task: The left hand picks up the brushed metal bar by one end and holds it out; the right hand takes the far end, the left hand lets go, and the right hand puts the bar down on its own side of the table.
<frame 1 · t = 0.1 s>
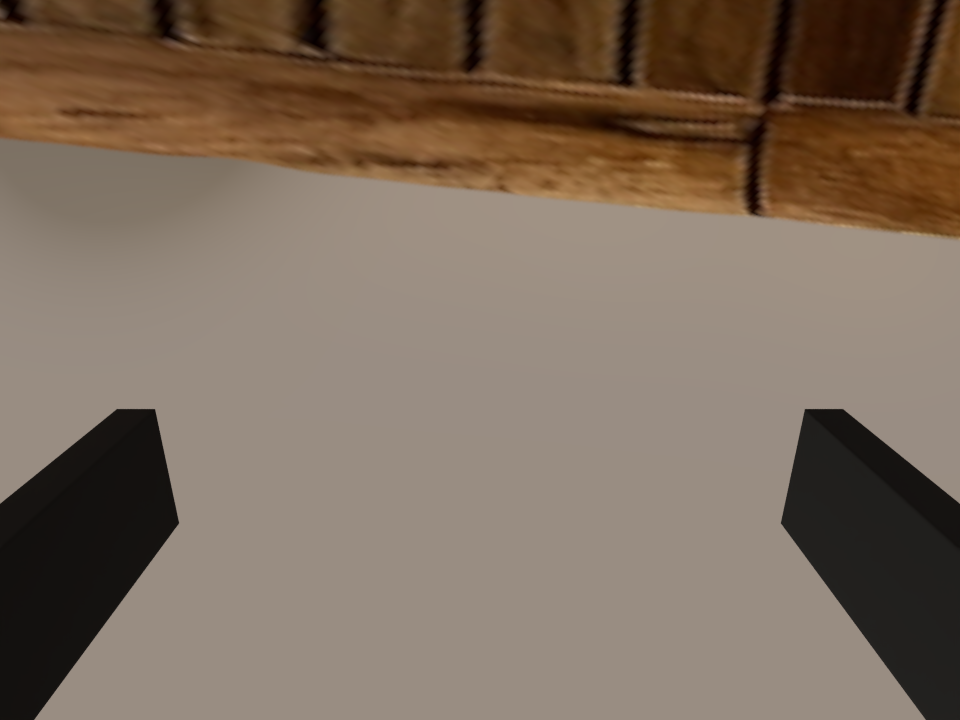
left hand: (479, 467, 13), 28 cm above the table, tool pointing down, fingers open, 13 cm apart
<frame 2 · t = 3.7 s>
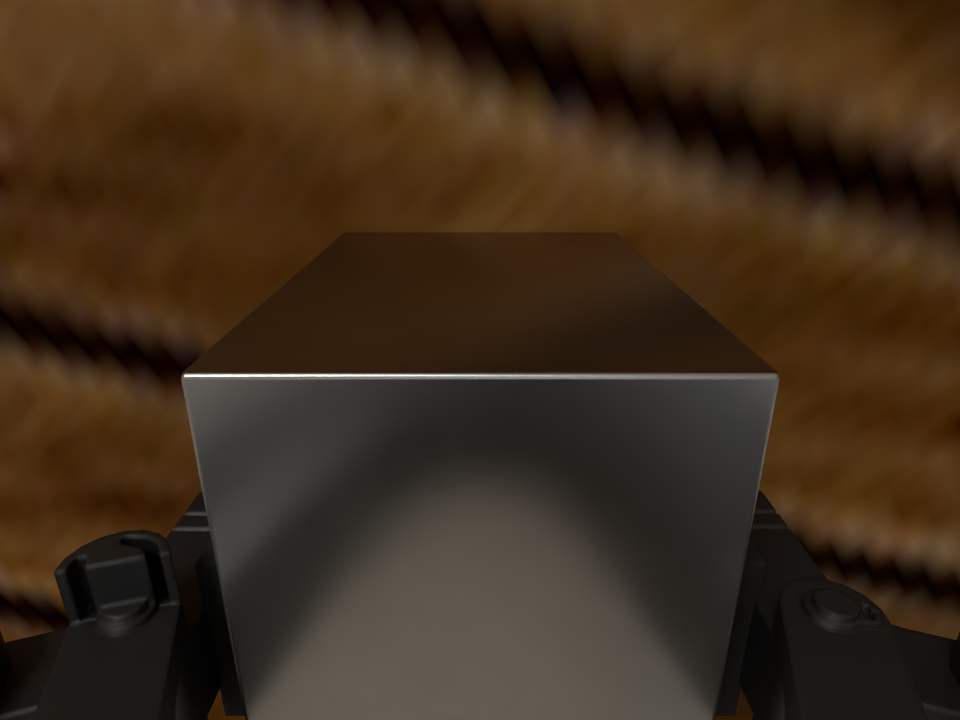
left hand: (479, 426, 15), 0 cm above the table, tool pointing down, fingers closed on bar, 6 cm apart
bar: (480, 659, 18), on the table, touching left hand
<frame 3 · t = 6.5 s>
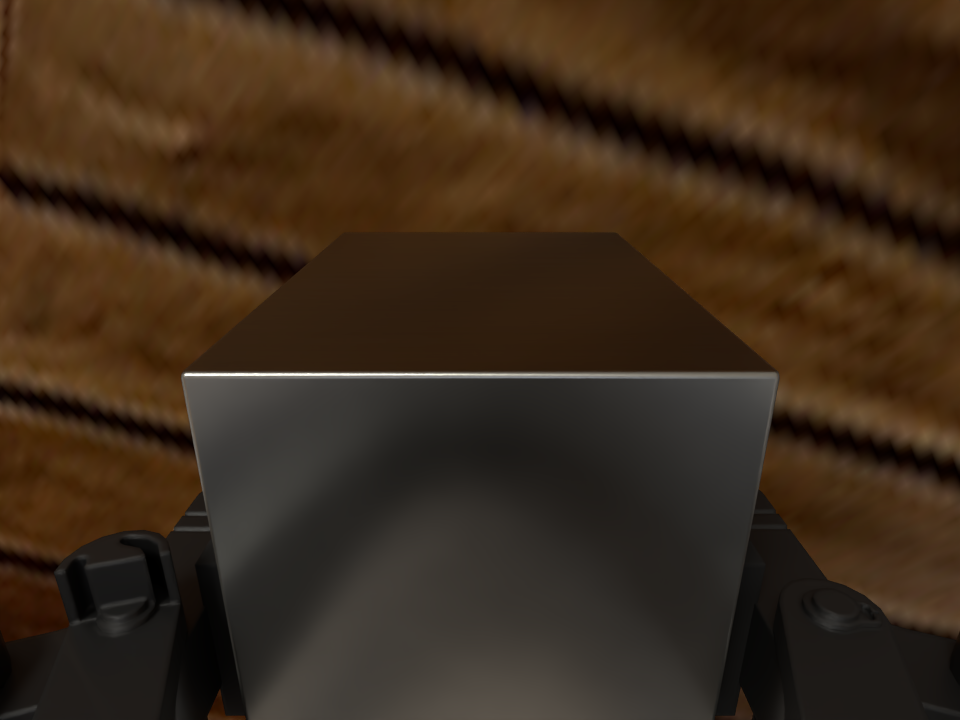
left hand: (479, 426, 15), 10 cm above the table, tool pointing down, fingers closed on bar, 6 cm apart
bar: (480, 659, 18), point 10 cm above the table, touching left hand
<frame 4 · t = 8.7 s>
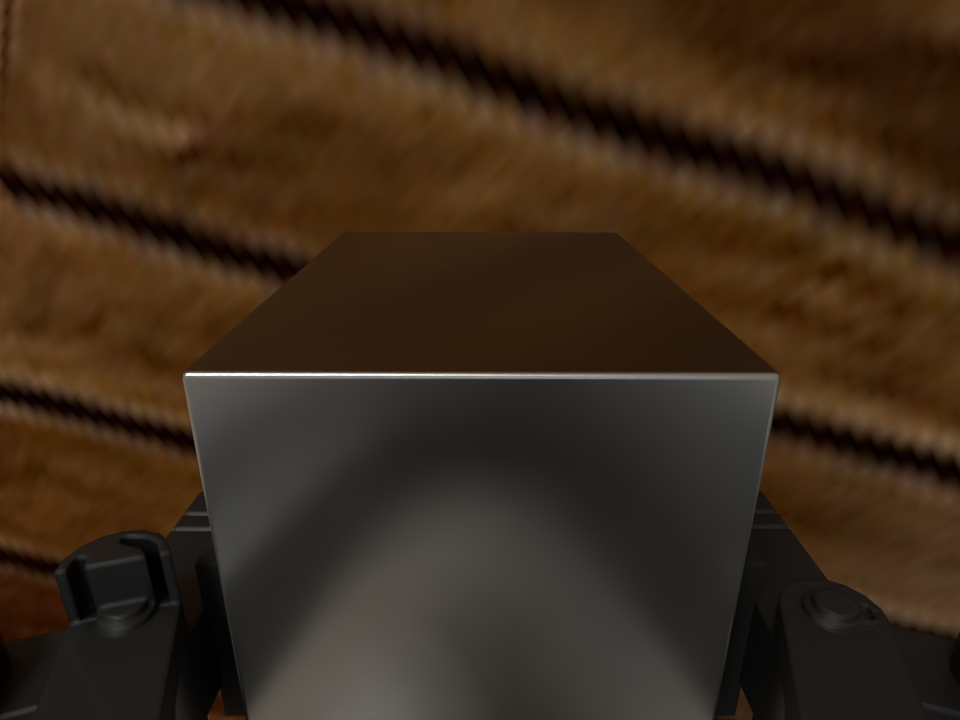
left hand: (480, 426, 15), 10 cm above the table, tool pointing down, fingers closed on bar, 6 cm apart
bar: (479, 659, 18), point 10 cm above the table, touching left hand, right hand
when the left hand's fingers open (10 cm above the table, at t = 9.4 s): bar stays where it is, held by the right hand.
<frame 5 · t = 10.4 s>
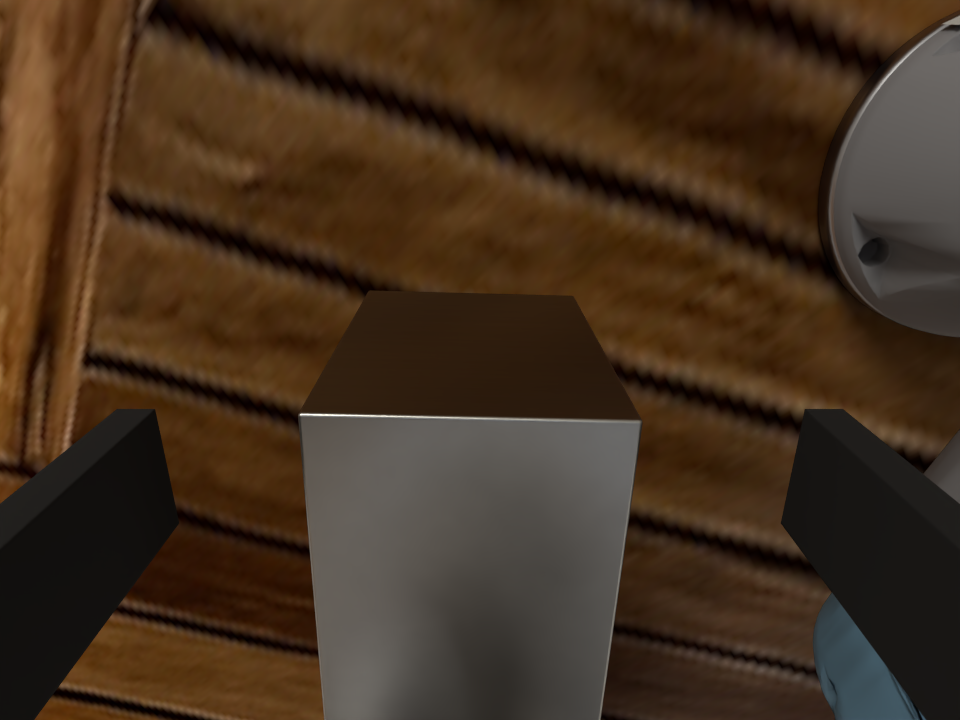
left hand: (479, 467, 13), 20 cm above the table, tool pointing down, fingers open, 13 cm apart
bar: (463, 620, 22), point 14 cm above the table, touching right hand
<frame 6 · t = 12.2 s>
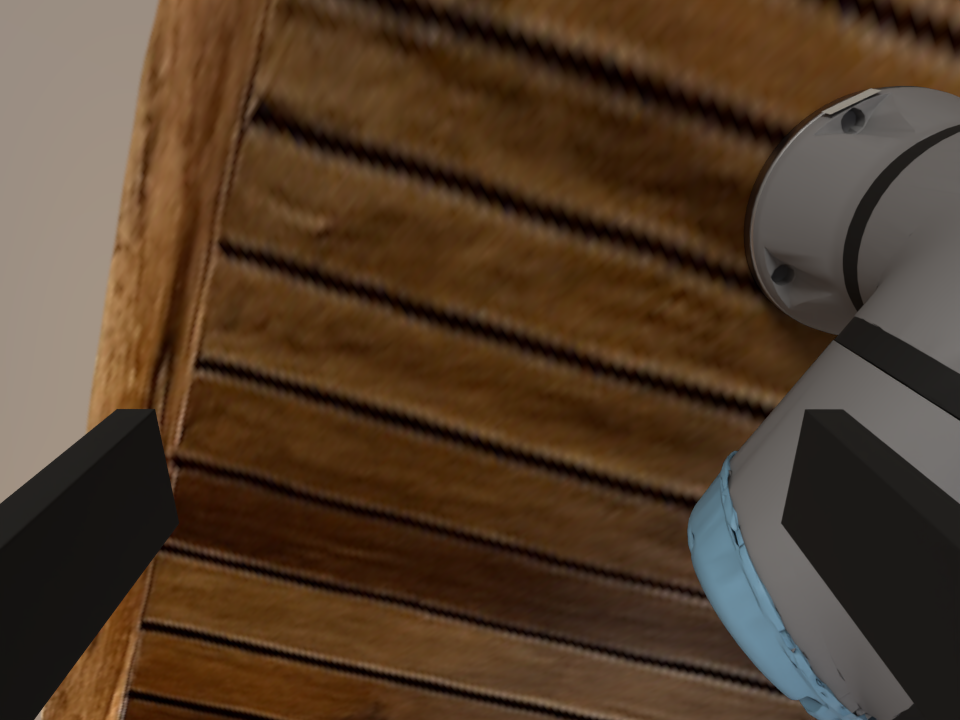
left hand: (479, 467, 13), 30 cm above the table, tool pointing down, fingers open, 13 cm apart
when the right hand's fingers open (2 cm above the table, at t = 16.0 s): bar drops 2 cm, on the table.
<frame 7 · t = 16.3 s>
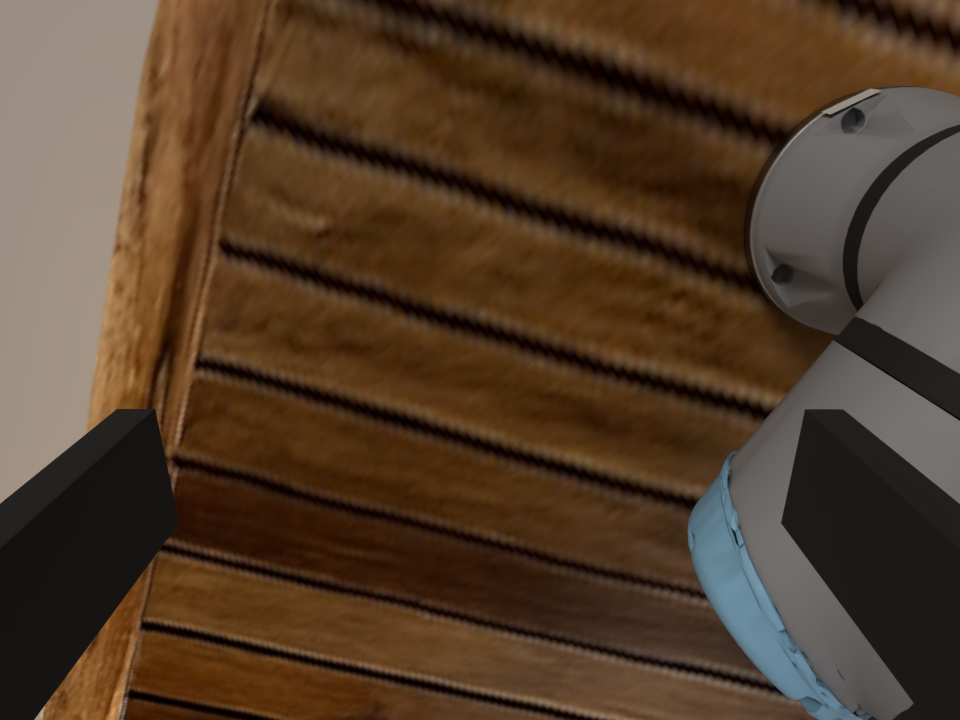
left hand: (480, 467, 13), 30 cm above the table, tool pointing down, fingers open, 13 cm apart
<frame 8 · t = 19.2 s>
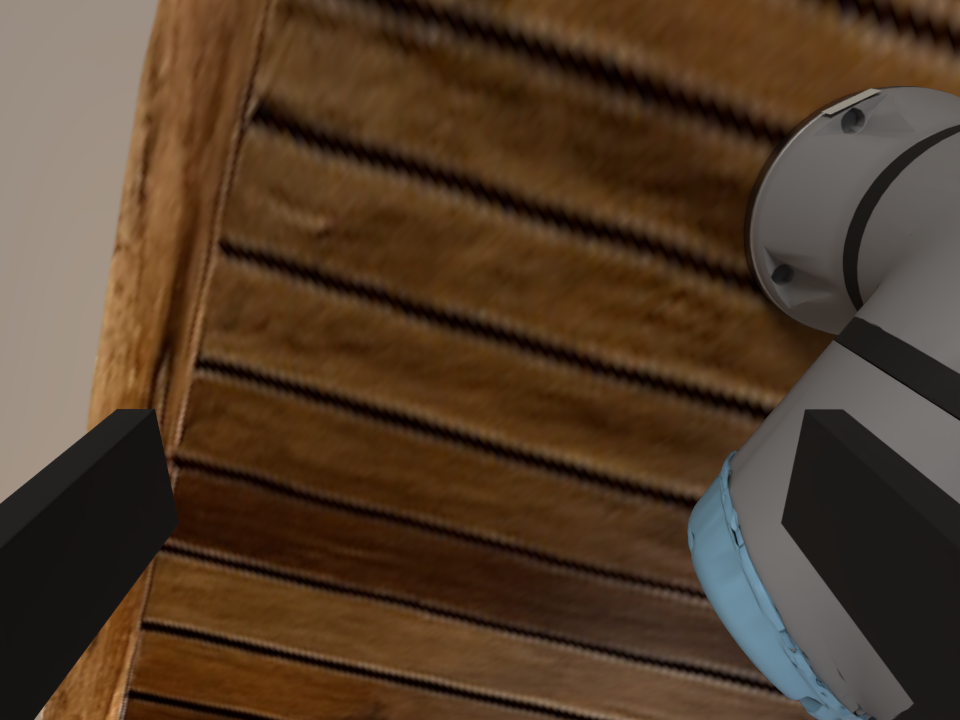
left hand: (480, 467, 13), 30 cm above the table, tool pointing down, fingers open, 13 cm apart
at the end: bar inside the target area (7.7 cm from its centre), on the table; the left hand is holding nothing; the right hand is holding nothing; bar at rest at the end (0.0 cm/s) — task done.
